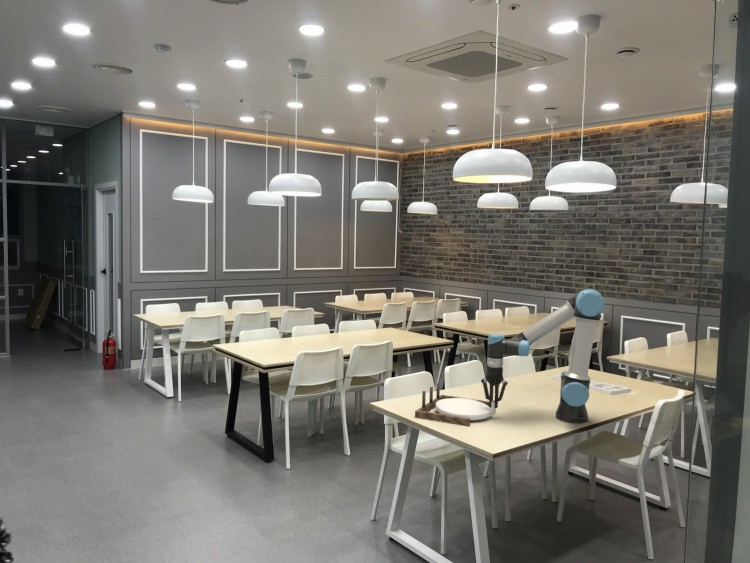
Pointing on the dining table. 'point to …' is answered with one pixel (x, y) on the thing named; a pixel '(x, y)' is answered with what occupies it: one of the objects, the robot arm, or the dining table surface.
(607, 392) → the holder
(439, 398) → the plate rack
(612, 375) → the dining table surface
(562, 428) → the dining table surface
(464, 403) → the plate
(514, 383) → the dining table surface
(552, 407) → the dining table surface
